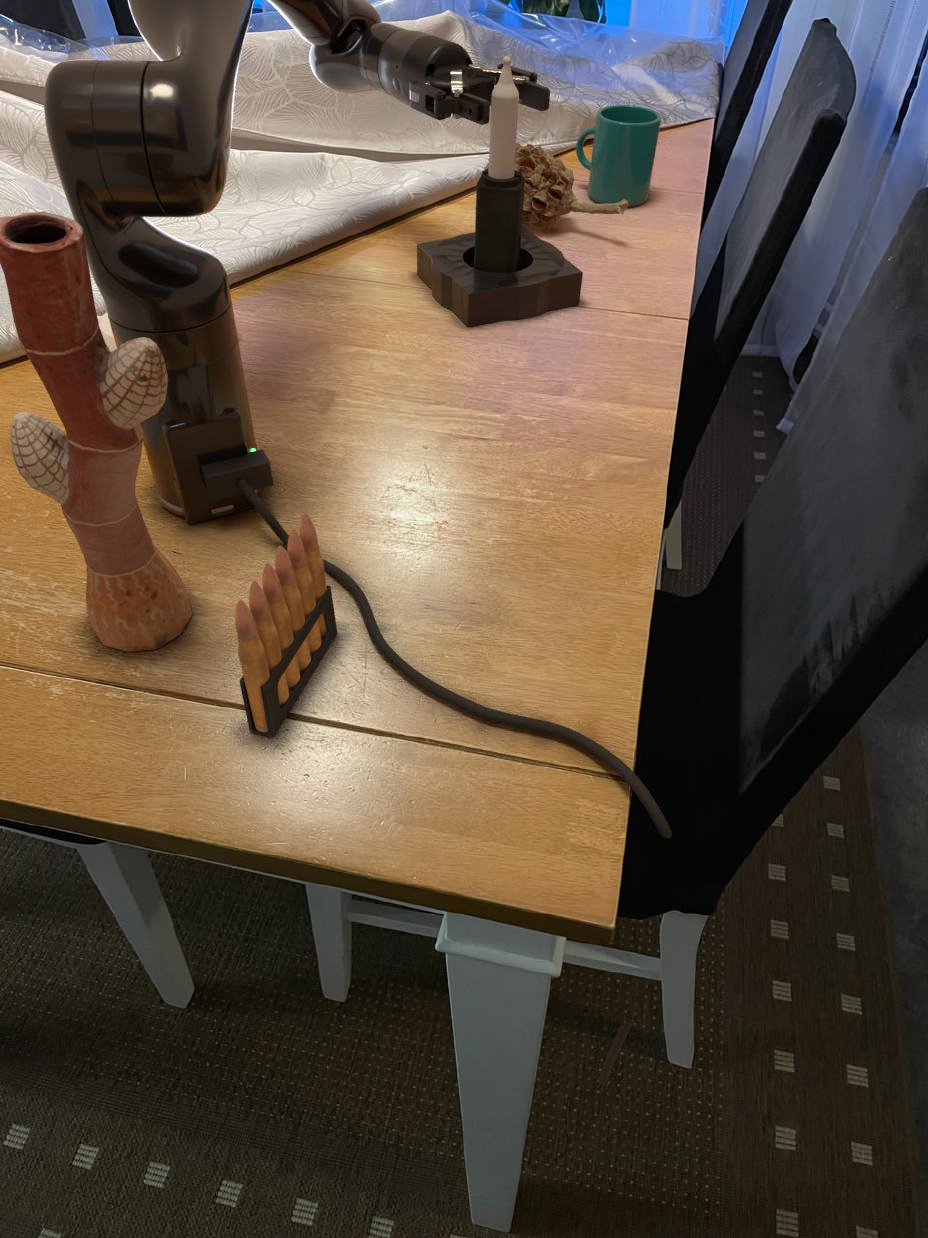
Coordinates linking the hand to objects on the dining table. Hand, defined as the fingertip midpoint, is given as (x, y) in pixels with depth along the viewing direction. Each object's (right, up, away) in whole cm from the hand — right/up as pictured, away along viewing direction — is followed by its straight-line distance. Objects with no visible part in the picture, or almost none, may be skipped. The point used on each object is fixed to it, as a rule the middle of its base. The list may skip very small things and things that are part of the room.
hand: (518, 106), depth 93 cm
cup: (+16, +9, +39) cm, 43 cm away
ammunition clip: (-18, -59, -29) cm, 68 cm away
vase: (-29, -55, -26) cm, 67 cm away
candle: (-2, -14, +16) cm, 21 cm away
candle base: (-2, -13, +16) cm, 21 cm away
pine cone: (+7, 0, +30) cm, 31 cm away
